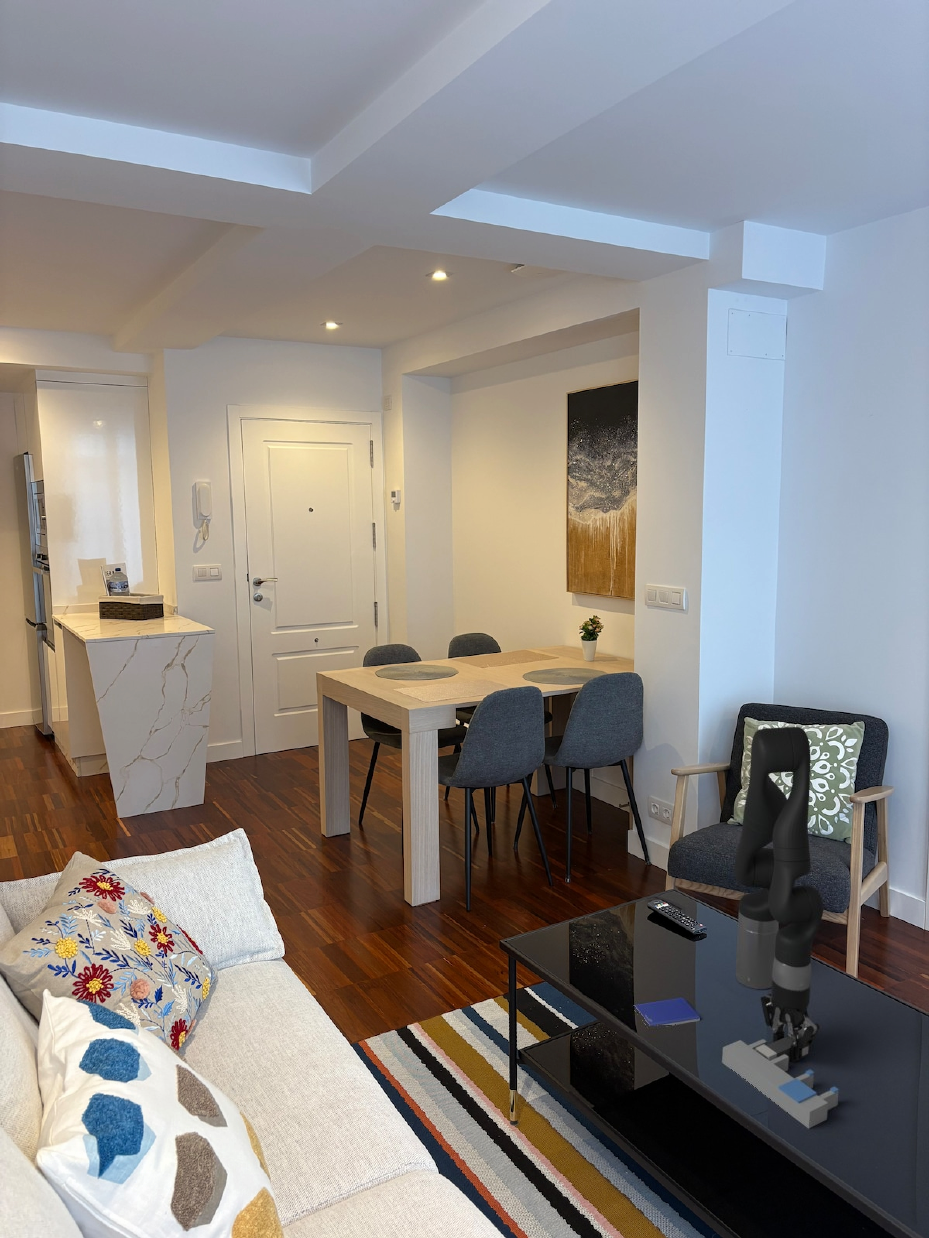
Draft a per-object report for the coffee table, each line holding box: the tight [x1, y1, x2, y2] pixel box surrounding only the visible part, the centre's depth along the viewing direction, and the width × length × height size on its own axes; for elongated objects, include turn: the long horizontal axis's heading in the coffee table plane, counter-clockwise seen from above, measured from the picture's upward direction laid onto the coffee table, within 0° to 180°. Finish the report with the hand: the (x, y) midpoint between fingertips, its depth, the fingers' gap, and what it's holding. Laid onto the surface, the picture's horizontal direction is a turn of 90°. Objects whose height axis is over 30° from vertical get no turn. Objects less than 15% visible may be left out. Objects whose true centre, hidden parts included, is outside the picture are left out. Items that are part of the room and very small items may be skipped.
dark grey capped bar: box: [756, 1033, 809, 1062], centre depth 189 cm, size 12×3×3 cm, turn 119°
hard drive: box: [633, 997, 701, 1026], centre depth 204 cm, size 2×8×12 cm
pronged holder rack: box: [721, 1038, 840, 1130], centre depth 180 cm, size 10×22×4 cm, turn 29°
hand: (786, 1053), depth 190 cm, fingers open, 3 cm apart
